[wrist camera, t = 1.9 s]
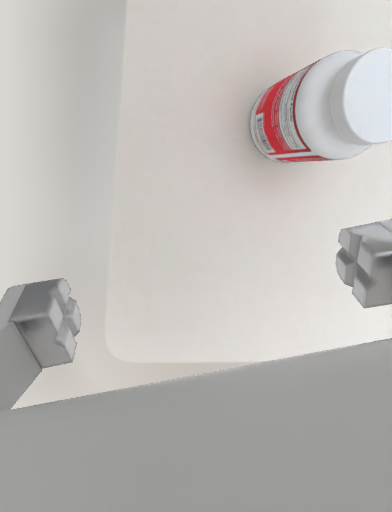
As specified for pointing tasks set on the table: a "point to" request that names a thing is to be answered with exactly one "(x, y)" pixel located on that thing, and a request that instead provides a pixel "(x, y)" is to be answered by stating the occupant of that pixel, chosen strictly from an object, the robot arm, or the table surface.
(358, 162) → the table surface
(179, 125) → the table surface
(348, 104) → the pill bottle
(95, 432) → the robot arm
